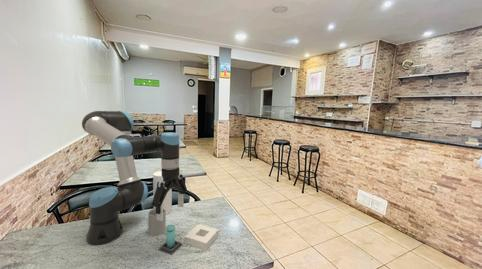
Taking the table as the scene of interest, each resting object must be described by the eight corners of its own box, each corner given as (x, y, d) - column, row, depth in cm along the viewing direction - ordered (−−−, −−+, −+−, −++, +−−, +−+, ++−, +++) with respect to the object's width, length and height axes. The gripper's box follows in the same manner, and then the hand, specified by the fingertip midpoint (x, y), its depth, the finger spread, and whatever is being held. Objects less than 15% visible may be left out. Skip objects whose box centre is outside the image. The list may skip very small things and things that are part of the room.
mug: (161, 236, 102) (161, 216, 101) (145, 236, 102) (144, 215, 101) (170, 223, 114) (170, 205, 113) (155, 223, 114) (155, 204, 113)
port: (184, 244, 97) (184, 236, 97) (198, 230, 108) (198, 223, 108) (206, 251, 93) (206, 243, 92) (218, 236, 104) (218, 229, 103)
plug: (164, 248, 93) (164, 228, 92) (170, 243, 96) (170, 224, 95) (171, 250, 91) (171, 229, 90) (176, 245, 95) (176, 225, 94)
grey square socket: (157, 251, 92) (157, 247, 91) (169, 241, 99) (169, 237, 99) (171, 256, 89) (171, 252, 88) (183, 245, 96) (183, 241, 96)
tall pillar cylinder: (159, 206, 133) (158, 170, 130) (174, 208, 132) (174, 171, 129) (150, 215, 122) (149, 175, 120) (167, 216, 121) (166, 176, 119)
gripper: (155, 176, 77) (156, 229, 79) (194, 162, 100) (194, 203, 102) (141, 173, 79) (142, 224, 82) (181, 160, 102) (181, 200, 105)
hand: (171, 212), depth 92 cm, fingers open, 13 cm apart
